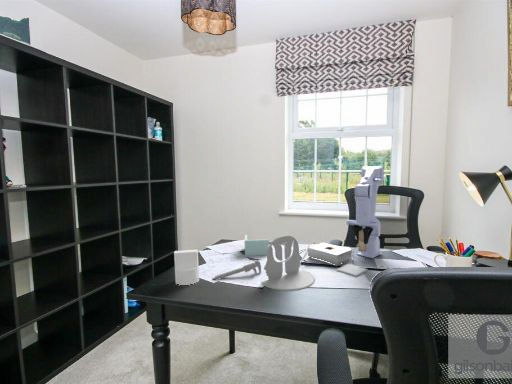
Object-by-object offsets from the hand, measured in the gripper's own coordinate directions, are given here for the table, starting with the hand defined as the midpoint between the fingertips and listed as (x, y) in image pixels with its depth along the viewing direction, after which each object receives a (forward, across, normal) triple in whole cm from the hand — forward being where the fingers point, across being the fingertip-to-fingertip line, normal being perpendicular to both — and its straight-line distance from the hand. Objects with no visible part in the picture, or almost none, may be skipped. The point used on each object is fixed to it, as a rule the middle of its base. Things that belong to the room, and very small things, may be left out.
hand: (362, 243), depth 121 cm
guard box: (+10, -15, -3) cm, 18 cm away
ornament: (+10, -9, -35) cm, 37 cm away
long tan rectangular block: (+3, 0, 0) cm, 3 cm away
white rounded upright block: (+10, -39, -64) cm, 76 cm away
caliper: (+10, -29, -47) cm, 56 cm away
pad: (+10, 0, -9) cm, 13 cm away
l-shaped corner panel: (+10, -48, -20) cm, 53 cm away
